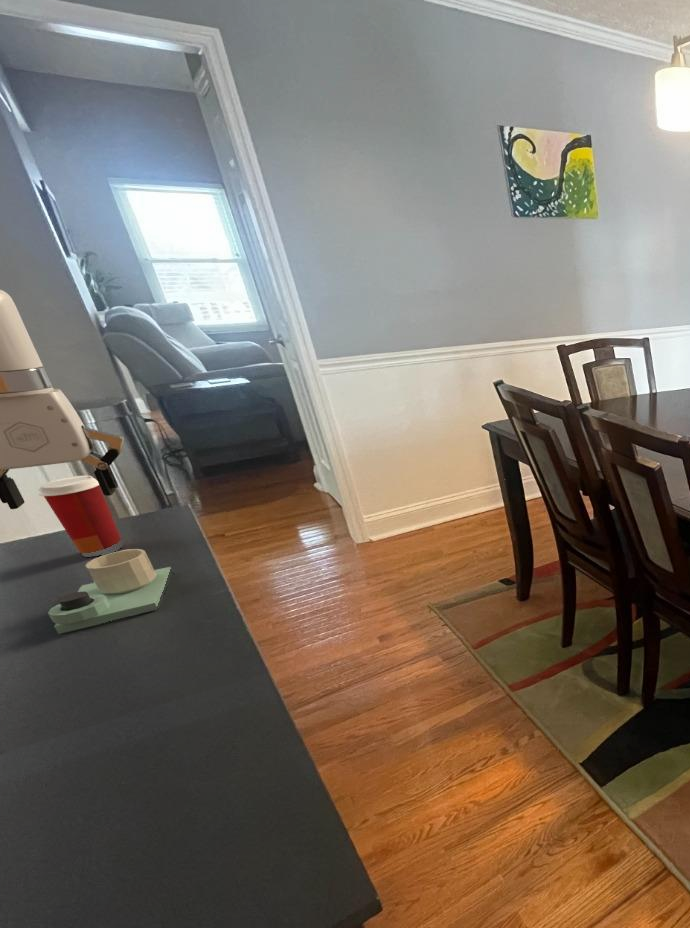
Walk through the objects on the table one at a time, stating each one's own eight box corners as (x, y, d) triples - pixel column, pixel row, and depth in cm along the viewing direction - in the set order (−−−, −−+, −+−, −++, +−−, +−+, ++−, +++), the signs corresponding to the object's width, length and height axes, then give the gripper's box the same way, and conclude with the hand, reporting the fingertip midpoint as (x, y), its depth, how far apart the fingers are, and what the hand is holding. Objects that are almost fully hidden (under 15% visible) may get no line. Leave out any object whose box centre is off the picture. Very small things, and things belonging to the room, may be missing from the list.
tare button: (61, 614, 87) (55, 603, 86) (67, 605, 89) (61, 595, 88) (89, 607, 89) (84, 597, 88) (94, 599, 91) (89, 589, 90)
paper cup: (125, 539, 118) (92, 471, 112) (136, 548, 113) (101, 479, 108) (69, 553, 112) (31, 483, 106) (78, 564, 108) (38, 492, 102)
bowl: (95, 600, 93) (80, 572, 91) (105, 583, 98) (91, 556, 96) (153, 587, 96) (140, 560, 94) (160, 571, 101) (148, 545, 99)
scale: (53, 637, 86) (42, 619, 85) (81, 593, 98) (72, 577, 97) (158, 611, 92) (150, 595, 91) (173, 573, 104) (166, 558, 102)
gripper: (-104, 393, 75) (-33, 520, 81) (90, 380, 84) (139, 495, 90) (-76, 385, 80) (-12, 504, 87) (103, 374, 89) (148, 482, 96)
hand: (65, 499), depth 89 cm, fingers open, 9 cm apart
